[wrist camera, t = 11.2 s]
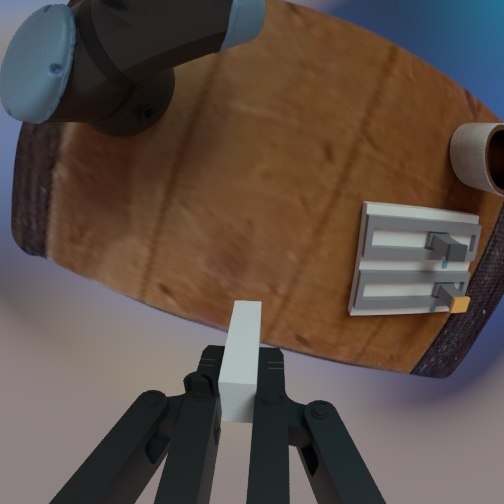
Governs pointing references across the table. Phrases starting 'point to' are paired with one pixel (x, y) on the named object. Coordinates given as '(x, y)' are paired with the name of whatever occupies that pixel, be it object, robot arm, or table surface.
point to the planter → (479, 156)
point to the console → (407, 258)
